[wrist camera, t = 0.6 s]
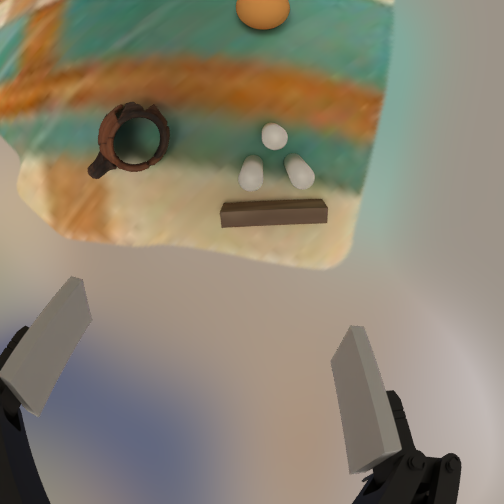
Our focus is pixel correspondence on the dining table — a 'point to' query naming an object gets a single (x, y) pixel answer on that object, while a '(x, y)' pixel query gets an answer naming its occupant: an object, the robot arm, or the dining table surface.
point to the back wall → (273, 213)
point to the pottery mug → (107, 133)
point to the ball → (262, 12)
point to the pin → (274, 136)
